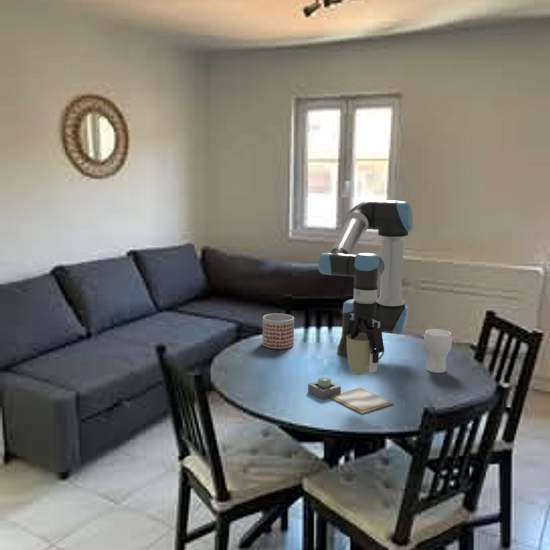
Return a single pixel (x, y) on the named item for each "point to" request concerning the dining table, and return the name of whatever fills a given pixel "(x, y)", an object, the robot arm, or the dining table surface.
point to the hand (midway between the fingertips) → (362, 367)
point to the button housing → (323, 390)
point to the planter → (278, 331)
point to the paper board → (361, 400)
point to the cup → (437, 349)
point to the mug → (359, 353)
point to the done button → (324, 382)
